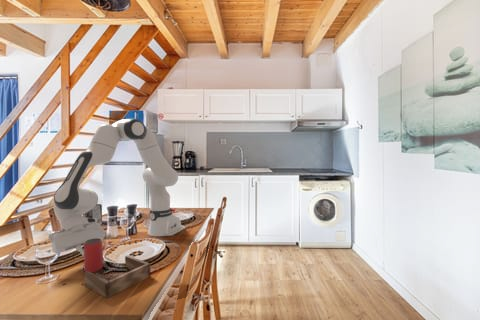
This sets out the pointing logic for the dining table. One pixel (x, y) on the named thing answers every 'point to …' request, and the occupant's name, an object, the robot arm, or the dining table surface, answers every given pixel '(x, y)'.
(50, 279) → the dining table surface
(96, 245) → the beer can
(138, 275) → the walnut corral
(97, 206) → the coffee box
